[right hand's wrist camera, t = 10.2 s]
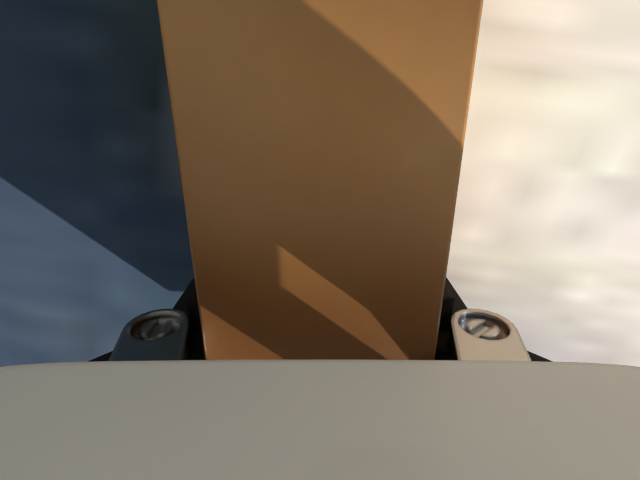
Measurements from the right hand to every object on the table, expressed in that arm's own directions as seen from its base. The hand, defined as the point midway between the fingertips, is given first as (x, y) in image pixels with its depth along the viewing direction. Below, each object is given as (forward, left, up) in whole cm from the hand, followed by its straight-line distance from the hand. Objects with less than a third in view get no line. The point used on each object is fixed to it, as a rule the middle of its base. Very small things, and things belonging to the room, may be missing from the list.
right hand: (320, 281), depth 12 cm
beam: (+32, -14, -2) cm, 35 cm away
